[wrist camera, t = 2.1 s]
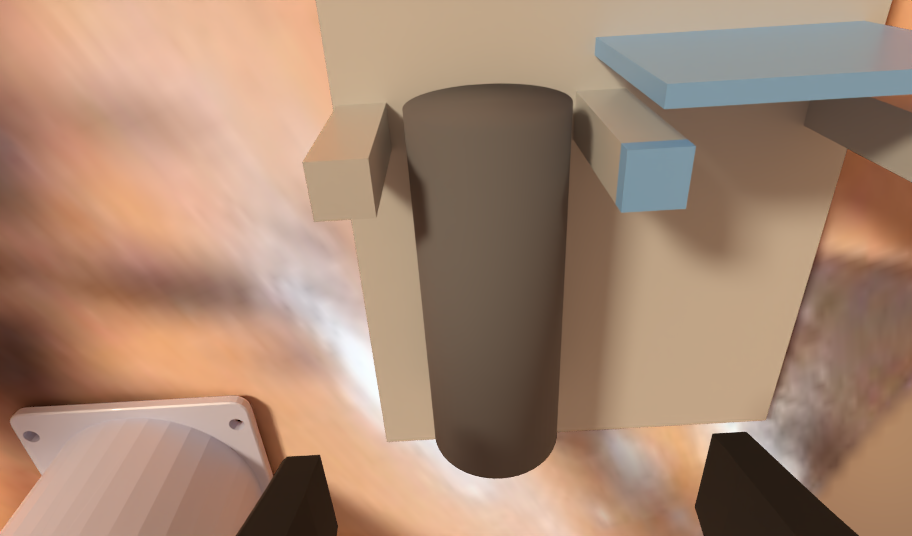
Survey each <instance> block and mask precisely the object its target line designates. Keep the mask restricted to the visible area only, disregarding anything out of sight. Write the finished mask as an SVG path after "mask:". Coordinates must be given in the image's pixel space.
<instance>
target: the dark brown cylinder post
mask: <svg viewBox="0 0 912 536" xmlns="http://www.w3.org/2000/svg"><path fill="white" fill-rule="evenodd" d="M402 112H403V122H404V132H405V142H406V152H407V162H408V171H409V181H410V191H411V201H412V211H413V221H414V231H415V241H416V251H417V261H418V270H419V280H420V290H421V300H422V310H423V320H424V330H425V340H426V350H427V360H428V369H429V379H430V389H431V399H432V409H433V419H434V429H435V439H436V442H437V445H438V448H439V450H440V451H441V453H442V454H443V456H444V457H445V458H446V459H447V460H448V461H449V462H450V463H451V464H452V465H454V466H455V467H457V468H458V469H460V470H462V471H464V472H466V473H469V474H472V475H475V476H479V477H484V478H509V477H514V476H518V475H521V474H524V473H527V472H529V471H531V470H533V469H534V468H536V467H537V466H539V465H540V464H541V463H542V462H543V461H545V460H546V458H547V457H548V456H549V455H550V453H551V452H552V450H553V448H554V445H555V443H556V438H557V420H558V400H559V380H560V359H561V339H562V319H563V298H564V278H565V258H566V237H567V217H568V197H569V176H570V156H571V136H572V115H573V100H572V98H571V97H570V96H569V95H567V94H566V93H564V92H561V91H559V90H555V89H552V88H547V87H542V86H536V85H527V84H510V83H493V84H475V85H464V86H457V87H450V88H445V89H440V90H435V91H432V92H428V93H425V94H422V95H419V96H417V97H414V98H412V99H411V100H409V101H408V102H406V103H405V104H404V105H403V108H402Z"/></svg>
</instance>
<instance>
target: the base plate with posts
mask: <svg viewBox="0 0 912 536" xmlns="http://www.w3.org/2000/svg"><path fill="white" fill-rule="evenodd" d="M891 3H892V0H316V6H317V13H318V19H319V25H320V31H321V37H322V44H323V50H324V56H325V62H326V68H327V74H328V81H329V87H330V93H331V99H332V105H333V113H332V114H331V116H330V118H329V119H328V121H327V123H326V124H325V126H324V127H323V129H322V131H321V132H320V134H319V136H318V137H317V139H316V141H315V142H314V144H313V146H312V147H311V149H310V151H309V152H308V154H307V156H306V157H305V159H304V161H303V162H302V163H303V168H304V173H305V178H306V183H307V188H308V193H309V198H310V203H311V208H312V213H313V218H314V222H321V221H338V220H351V223H352V229H353V235H354V241H355V247H356V254H357V260H358V266H359V272H360V278H361V284H362V291H363V297H364V303H365V309H366V315H367V322H368V328H369V334H370V340H371V346H372V352H373V359H374V365H375V371H376V377H377V383H378V389H379V396H380V402H381V408H382V414H383V420H384V427H385V433H386V439H387V442H394V441H412V440H429V439H435V429H434V419H433V409H432V399H431V389H430V379H429V369H428V360H427V350H426V340H425V330H424V320H423V310H422V300H421V290H420V280H419V270H418V261H417V251H416V241H415V231H414V221H413V211H412V201H411V191H410V181H409V171H408V162H407V152H406V142H405V132H404V122H403V112H402V108H403V105H404V104H405V103H406V102H408V101H409V100H411V99H412V98H414V97H417V96H419V95H422V94H425V93H428V92H432V91H435V90H440V89H445V88H450V87H457V86H464V85H475V84H493V83H510V84H527V85H536V86H542V87H547V88H552V89H555V90H559V91H561V92H564V93H566V94H567V95H569V96H570V97H571V98H572V100H573V115H572V136H571V156H570V176H569V197H568V217H567V237H566V258H565V278H564V298H563V319H562V339H561V359H560V380H559V400H558V420H557V432H570V431H587V430H605V429H622V428H640V427H657V426H675V425H692V424H710V423H727V422H745V421H762V420H766V417H767V414H768V410H769V407H770V404H771V400H772V397H773V394H774V390H775V387H776V384H777V381H778V377H779V374H780V371H781V367H782V364H783V361H784V357H785V354H786V351H787V347H788V344H789V341H790V337H791V334H792V331H793V328H794V324H795V321H796V318H797V314H798V311H799V308H800V304H801V301H802V298H803V294H804V291H805V288H806V284H807V281H808V278H809V275H810V271H811V268H812V265H813V261H814V258H815V255H816V251H817V248H818V245H819V241H820V238H821V235H822V231H823V228H824V225H825V221H826V218H827V215H828V212H829V208H830V205H831V202H832V198H833V195H834V192H835V188H836V185H837V182H838V178H839V175H840V172H841V168H842V165H843V162H844V159H845V155H846V152H847V149H849V150H851V151H853V152H855V153H857V154H859V155H861V156H862V157H864V158H866V159H868V160H870V161H872V162H874V163H876V164H878V165H880V166H882V167H883V168H885V169H887V170H889V171H891V172H893V173H895V174H897V175H899V176H901V177H903V178H904V179H906V180H908V181H910V182H912V30H908V29H903V28H898V27H893V26H888V25H885V23H886V19H887V16H888V13H889V9H890V6H891Z"/></svg>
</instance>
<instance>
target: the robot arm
mask: <svg viewBox="0 0 912 536" xmlns="http://www.w3.org/2000/svg"><path fill="white" fill-rule="evenodd" d="M235 419H238V420H241V421H243V422H239V421H236V420H235ZM10 424H11V426H12V428H13V430H14V431H15V433H16V435H17V436H18V438H19V439H20V441H21V443H22V444H23V446H24V448H25V449H26V451H27V452H28V454H29V456H30V457H31V459H32V461H33V462H34V464H35V465H36V467H37V469H38V470H39V472H40V473H41V475H42V476H41V477H40V479H39V480H38V482H37V483H36V484H35V486H34V487H33V488H32V490H31V491H30V492H29V494H28V495H27V496H26V498H25V499H24V501H23V502H22V503H21V505H20V506H19V507H18V509H17V510H16V511H15V513H14V514H13V515H12V517H11V518H10V520H9V521H8V522H7V524H6V525H5V526H4V528H3V529H2V530H1V532H0V536H337V528H338V525H337V521H336V517H335V513H334V509H333V505H332V501H331V497H330V493H329V489H328V485H327V481H326V477H325V473H324V469H323V465H322V461H321V457H320V455H310V456H291V457H286V458H285V459H284V460H283V461H282V463H281V464H280V466H279V468H278V469H277V471H276V473H275V474H274V476H273V474H272V470H271V467H270V464H269V461H268V458H267V455H266V451H265V448H264V445H263V442H262V439H261V436H260V433H259V429H258V426H257V423H256V420H255V417H254V414H253V410H252V407H251V405H250V403H249V402H248V401H247V400H246V399H245V398H242V397H240V396H217V397H199V398H182V399H164V400H147V401H130V402H112V403H95V404H78V405H60V406H43V407H26V408H21V409H19V410H18V411H16V413H15V414H14V415H13V416H12V417H11V419H10ZM695 509H696V512H697V515H698V519H699V522H700V525H701V528H702V531H703V535H704V536H859V535H857V534H856V533H855V532H854V531H853V530H852V529H850V527H848V526H847V525H846V524H845V523H844V522H843V521H842V520H841V519H839V518H838V517H837V516H836V515H835V514H834V513H833V512H832V511H830V510H829V509H828V508H827V507H826V506H825V505H824V504H823V503H822V502H821V501H820V500H818V499H817V498H816V497H815V496H814V495H813V494H812V493H811V492H810V491H809V490H808V489H807V488H806V487H805V486H803V485H802V484H801V483H800V482H799V481H798V480H797V479H796V478H795V477H794V476H793V475H792V474H791V473H790V472H788V471H787V470H786V469H785V468H784V467H783V466H782V465H781V464H780V463H779V462H778V461H777V460H776V459H775V458H774V457H773V456H771V455H770V454H769V453H768V452H767V451H766V450H765V449H764V448H763V447H762V446H761V445H760V444H759V443H758V442H757V441H755V440H754V439H753V438H752V437H751V436H750V435H749V434H748V433H747V432H734V433H716V434H712V438H711V442H710V446H709V451H708V455H707V459H706V463H705V467H704V471H703V475H702V479H701V483H700V487H699V492H698V496H697V500H696V504H695Z"/></svg>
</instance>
